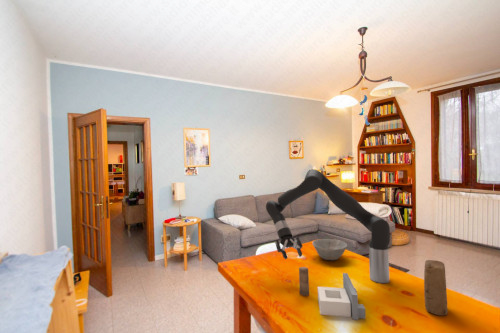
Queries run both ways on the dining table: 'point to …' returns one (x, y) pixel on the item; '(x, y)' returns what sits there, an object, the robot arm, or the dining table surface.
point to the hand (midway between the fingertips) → (293, 257)
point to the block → (435, 287)
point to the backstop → (353, 298)
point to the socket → (334, 301)
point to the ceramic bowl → (329, 248)
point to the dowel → (304, 281)
